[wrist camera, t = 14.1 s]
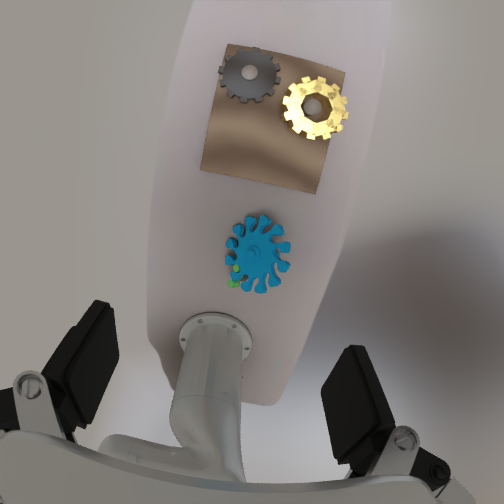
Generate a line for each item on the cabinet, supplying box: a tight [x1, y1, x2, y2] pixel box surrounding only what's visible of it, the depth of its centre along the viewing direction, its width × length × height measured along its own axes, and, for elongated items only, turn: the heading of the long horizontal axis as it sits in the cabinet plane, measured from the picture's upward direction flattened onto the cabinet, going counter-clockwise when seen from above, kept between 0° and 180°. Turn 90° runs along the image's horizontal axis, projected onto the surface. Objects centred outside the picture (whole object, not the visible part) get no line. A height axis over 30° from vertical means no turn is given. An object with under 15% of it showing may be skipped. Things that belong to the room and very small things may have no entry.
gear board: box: [200, 44, 345, 194], centre depth 30 cm, size 17×15×5 cm
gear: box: [226, 215, 291, 293], centre depth 37 cm, size 11×6×10 cm
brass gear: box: [279, 76, 349, 140], centre depth 28 cm, size 7×7×4 cm
